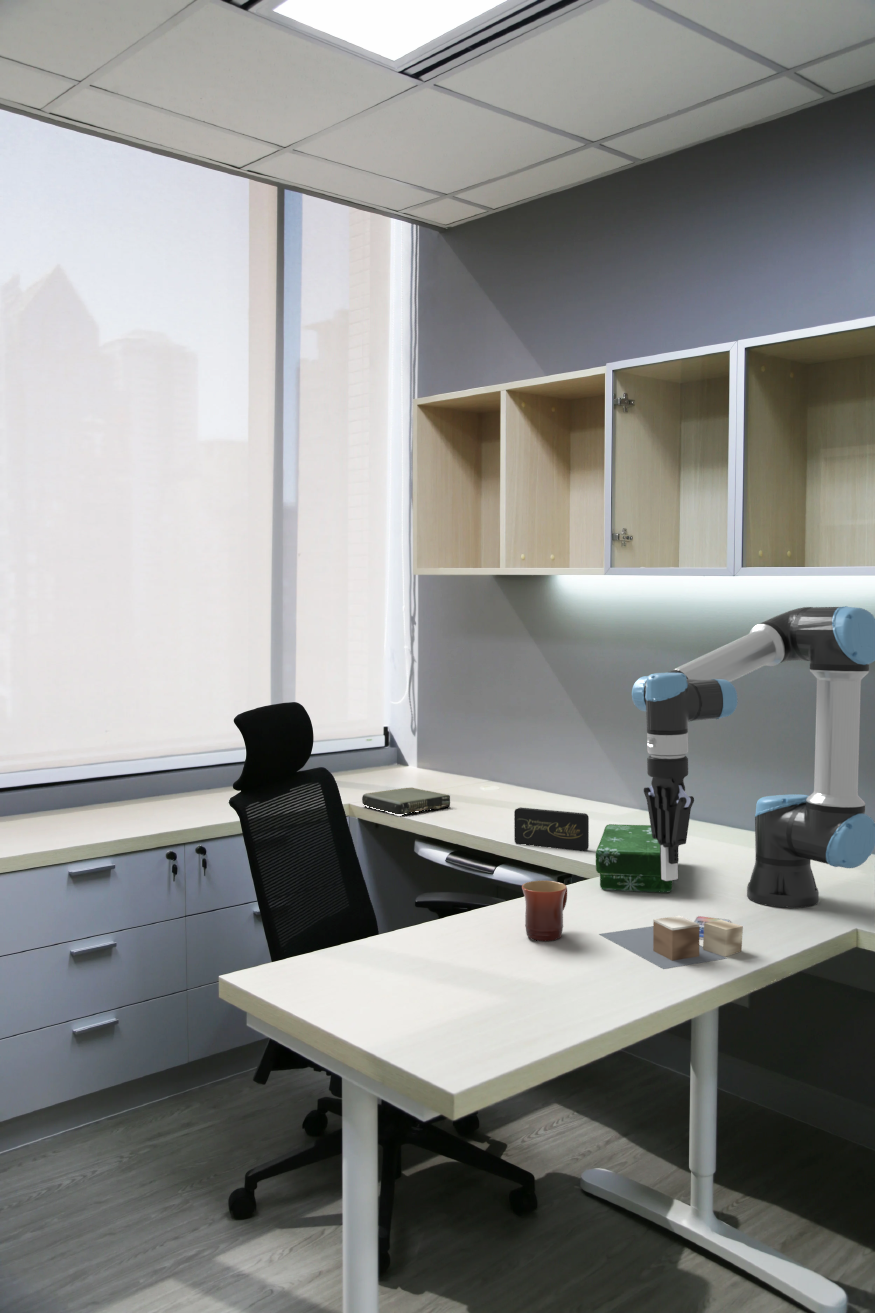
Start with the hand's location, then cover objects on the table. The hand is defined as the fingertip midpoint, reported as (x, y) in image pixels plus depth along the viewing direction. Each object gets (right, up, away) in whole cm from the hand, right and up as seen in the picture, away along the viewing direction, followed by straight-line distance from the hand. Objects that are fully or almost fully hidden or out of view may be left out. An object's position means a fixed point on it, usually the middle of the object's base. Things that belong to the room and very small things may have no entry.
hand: (669, 879), depth 198 cm
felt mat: (-1, -14, +2) cm, 14 cm away
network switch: (-54, -8, +145) cm, 155 cm away
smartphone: (+11, -14, +13) cm, 21 cm away
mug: (-22, -14, +10) cm, 27 cm away
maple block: (+10, -13, -1) cm, 17 cm away
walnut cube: (+1, -7, -3) cm, 8 cm away
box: (+5, -12, +56) cm, 57 cm away
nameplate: (-13, -10, +87) cm, 89 cm away
